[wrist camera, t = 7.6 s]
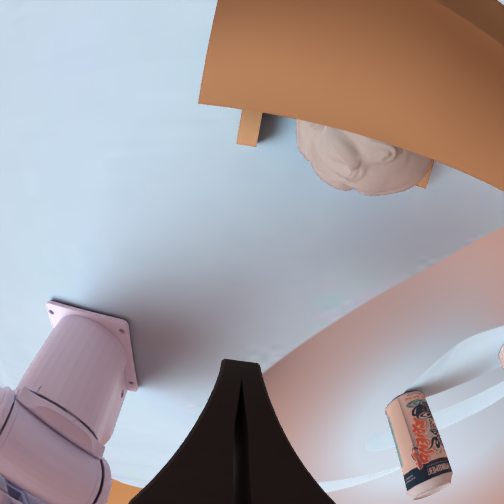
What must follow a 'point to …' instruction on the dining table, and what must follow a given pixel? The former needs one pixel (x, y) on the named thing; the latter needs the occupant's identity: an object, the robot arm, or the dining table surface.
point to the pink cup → (501, 357)
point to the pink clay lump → (359, 160)
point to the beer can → (418, 445)
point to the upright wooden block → (368, 73)
